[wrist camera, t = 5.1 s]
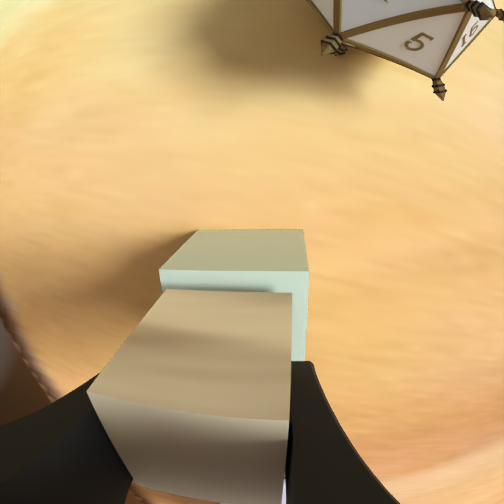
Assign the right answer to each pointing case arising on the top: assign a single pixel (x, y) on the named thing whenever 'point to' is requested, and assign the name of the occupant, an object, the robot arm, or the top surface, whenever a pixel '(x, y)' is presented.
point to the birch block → (203, 396)
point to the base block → (246, 269)
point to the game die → (406, 30)
